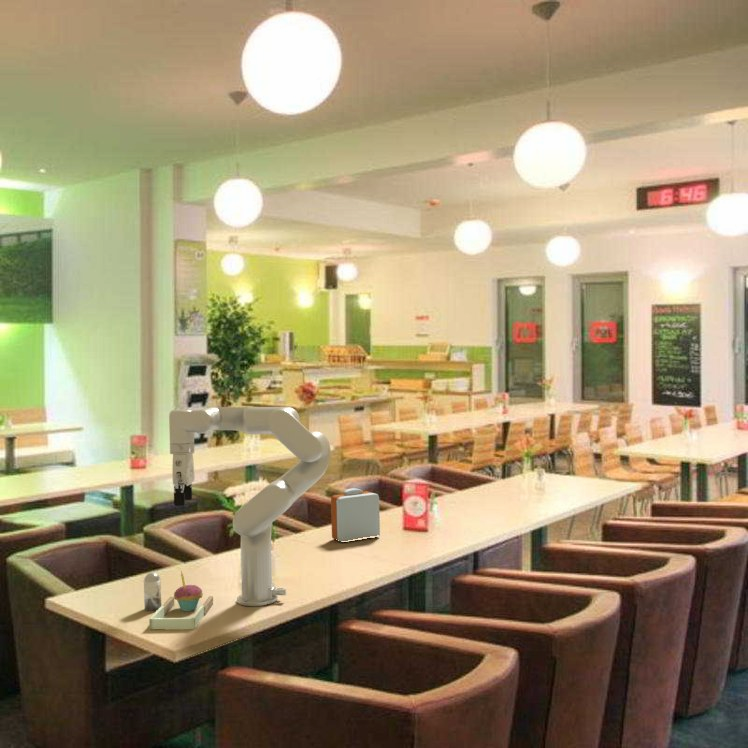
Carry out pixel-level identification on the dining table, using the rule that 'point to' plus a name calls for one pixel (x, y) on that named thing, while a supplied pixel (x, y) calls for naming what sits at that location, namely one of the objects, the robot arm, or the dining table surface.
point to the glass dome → (152, 592)
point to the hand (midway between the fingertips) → (183, 502)
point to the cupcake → (188, 596)
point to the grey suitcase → (355, 515)
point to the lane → (170, 604)
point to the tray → (175, 620)
